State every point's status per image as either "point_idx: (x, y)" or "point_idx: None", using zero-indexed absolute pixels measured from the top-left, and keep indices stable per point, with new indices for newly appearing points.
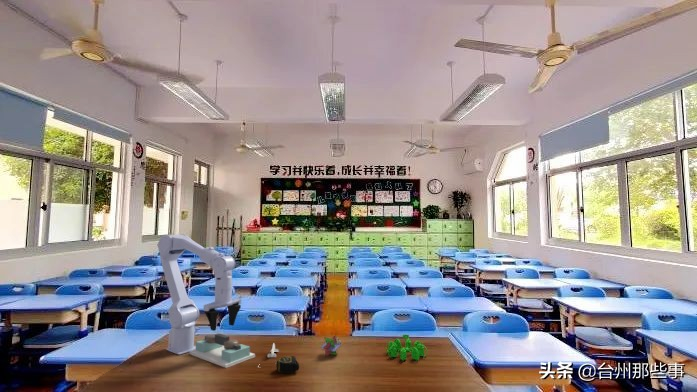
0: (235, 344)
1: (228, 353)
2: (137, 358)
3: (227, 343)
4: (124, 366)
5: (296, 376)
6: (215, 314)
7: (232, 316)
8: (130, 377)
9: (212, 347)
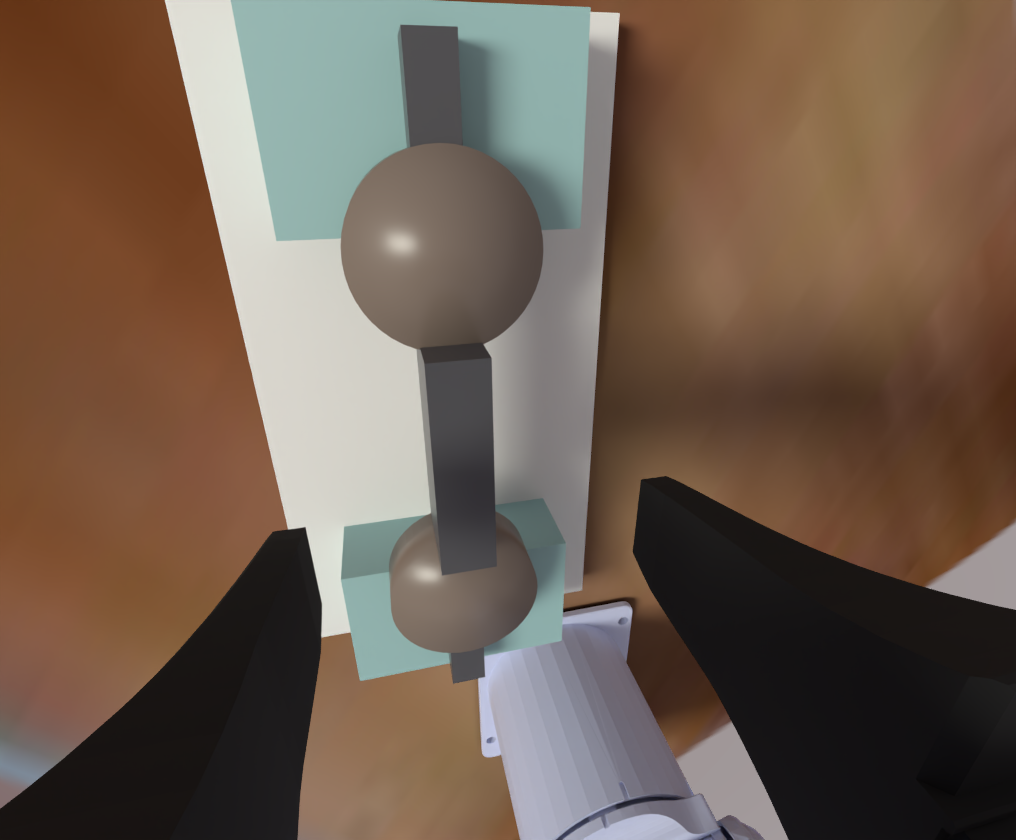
0: (435, 143)
1: (584, 66)
2: None
3: (522, 231)
4: None
5: None
6: (968, 626)
7: (273, 684)
8: (963, 452)
9: None
